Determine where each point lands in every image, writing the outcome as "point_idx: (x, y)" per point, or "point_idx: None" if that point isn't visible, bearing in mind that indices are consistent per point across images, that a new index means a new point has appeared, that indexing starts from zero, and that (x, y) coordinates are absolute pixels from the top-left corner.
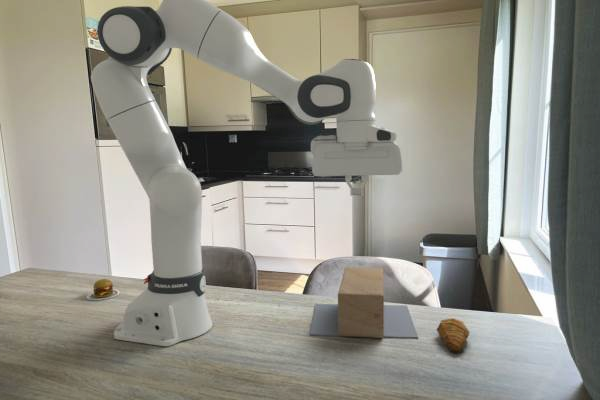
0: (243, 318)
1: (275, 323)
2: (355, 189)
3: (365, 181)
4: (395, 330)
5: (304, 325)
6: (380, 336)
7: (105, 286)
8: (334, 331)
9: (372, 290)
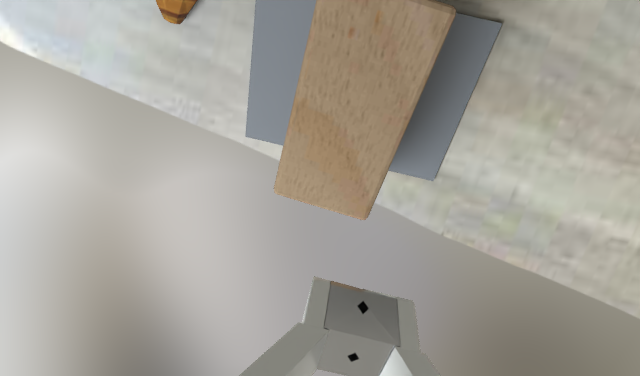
0: (623, 142)
1: (558, 103)
2: (373, 327)
3: (265, 373)
4: (299, 12)
5: (494, 80)
6: None
7: None
8: None
9: (345, 16)
